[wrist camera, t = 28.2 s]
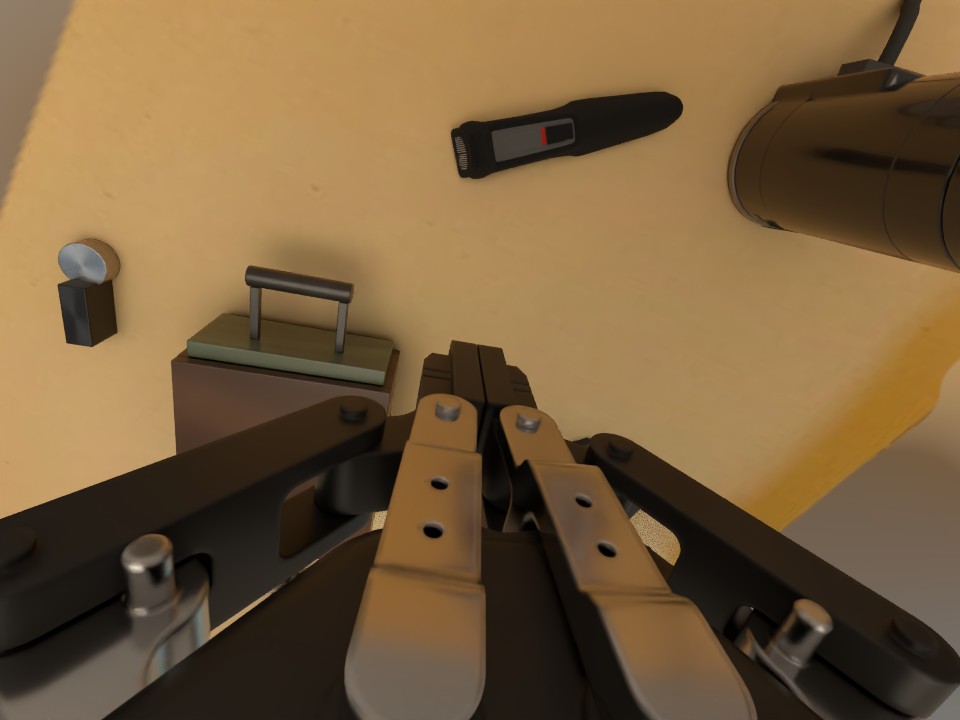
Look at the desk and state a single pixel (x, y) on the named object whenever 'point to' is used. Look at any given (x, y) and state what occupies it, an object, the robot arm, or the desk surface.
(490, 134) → the electric trimmer
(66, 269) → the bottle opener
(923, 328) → the desk surface
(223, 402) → the cabinet
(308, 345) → the drawer
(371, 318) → the desk surface
